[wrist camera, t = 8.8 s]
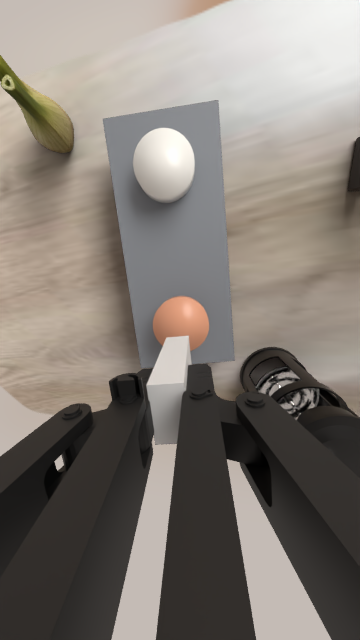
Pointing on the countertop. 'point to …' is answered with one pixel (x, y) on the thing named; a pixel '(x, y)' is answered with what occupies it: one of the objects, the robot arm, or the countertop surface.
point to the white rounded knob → (164, 165)
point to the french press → (308, 404)
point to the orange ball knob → (181, 321)
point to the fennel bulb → (39, 112)
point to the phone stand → (355, 169)
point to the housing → (174, 229)
